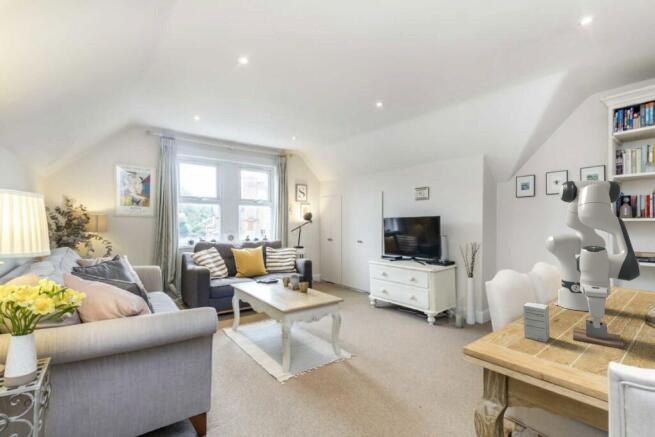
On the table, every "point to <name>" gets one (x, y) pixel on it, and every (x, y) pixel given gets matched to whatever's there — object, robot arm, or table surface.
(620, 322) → the table surface
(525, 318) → the supplement box
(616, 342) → the post board
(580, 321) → the table surface
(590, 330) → the collar
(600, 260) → the robot arm
